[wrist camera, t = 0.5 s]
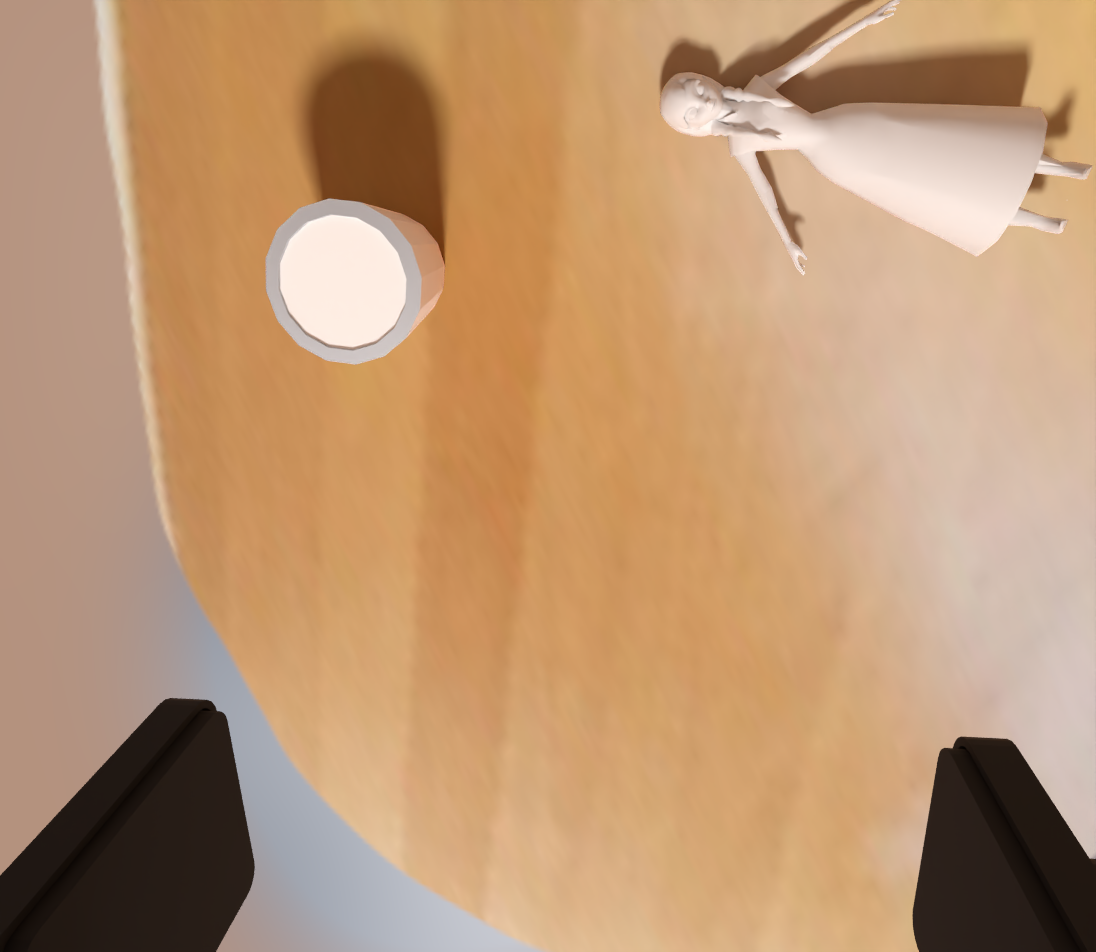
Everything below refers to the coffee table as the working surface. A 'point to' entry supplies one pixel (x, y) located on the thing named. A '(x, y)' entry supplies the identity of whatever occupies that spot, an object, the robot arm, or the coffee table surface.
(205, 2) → the coffee table surface
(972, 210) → the woman figurine
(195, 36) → the coffee table surface
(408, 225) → the white cylinder
